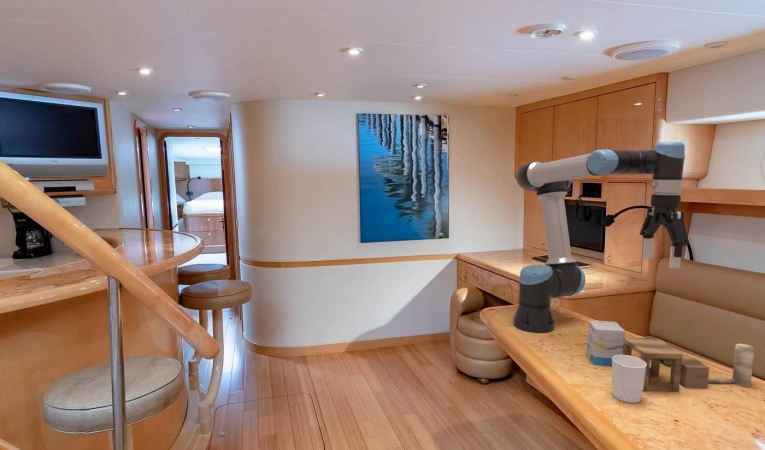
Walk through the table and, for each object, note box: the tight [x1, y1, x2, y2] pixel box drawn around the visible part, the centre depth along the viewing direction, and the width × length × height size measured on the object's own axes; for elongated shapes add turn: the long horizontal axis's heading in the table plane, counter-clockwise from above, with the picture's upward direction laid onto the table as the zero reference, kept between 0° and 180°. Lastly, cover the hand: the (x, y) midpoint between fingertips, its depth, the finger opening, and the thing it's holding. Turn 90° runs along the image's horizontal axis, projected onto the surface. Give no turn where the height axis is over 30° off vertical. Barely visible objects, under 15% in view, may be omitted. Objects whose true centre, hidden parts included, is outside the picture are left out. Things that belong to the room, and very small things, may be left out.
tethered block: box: [680, 343, 756, 389], centre depth 120 cm, size 6×20×11 cm, turn 88°
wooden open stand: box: [623, 337, 684, 393], centre depth 121 cm, size 11×10×11 cm
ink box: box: [586, 320, 626, 367], centre depth 135 cm, size 8×8×12 cm
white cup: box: [611, 355, 647, 404], centre depth 113 cm, size 8×8×10 cm
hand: (660, 263), depth 131 cm, fingers open, 13 cm apart
